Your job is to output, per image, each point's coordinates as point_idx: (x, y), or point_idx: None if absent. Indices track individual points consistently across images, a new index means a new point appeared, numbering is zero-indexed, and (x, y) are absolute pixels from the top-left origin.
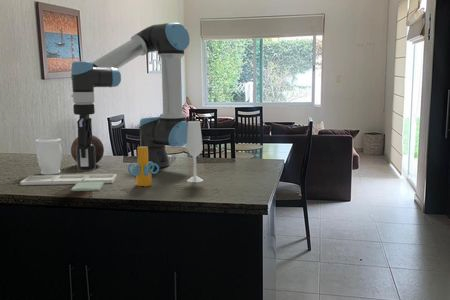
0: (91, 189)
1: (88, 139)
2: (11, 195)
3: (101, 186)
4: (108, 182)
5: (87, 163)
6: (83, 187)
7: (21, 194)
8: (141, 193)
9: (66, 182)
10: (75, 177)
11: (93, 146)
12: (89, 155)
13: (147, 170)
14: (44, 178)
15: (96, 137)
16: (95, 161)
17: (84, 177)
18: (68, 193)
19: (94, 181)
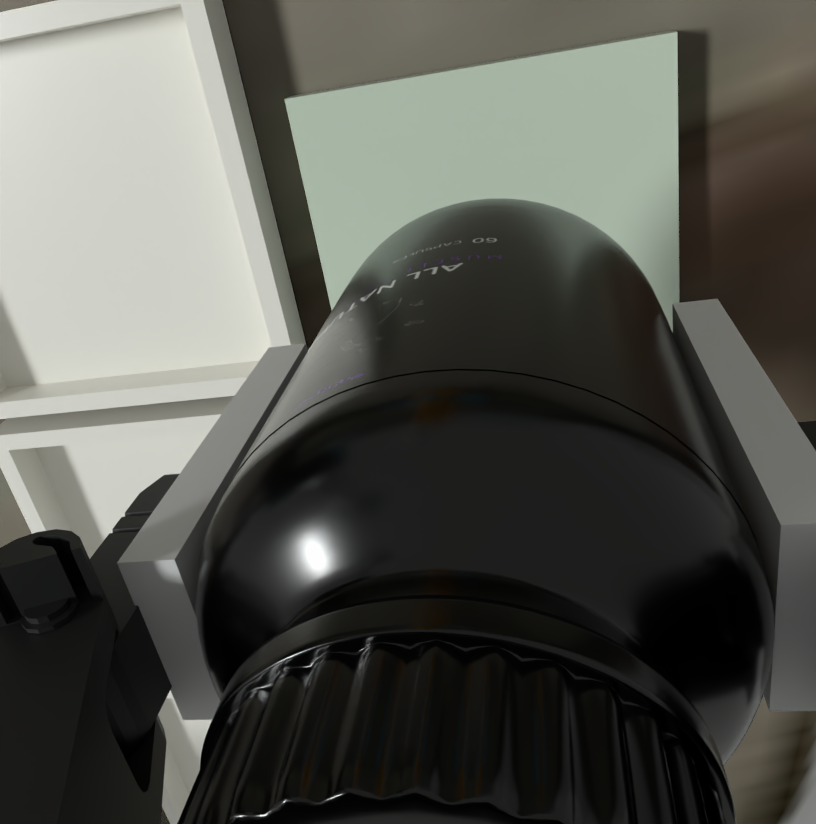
0: (675, 145)
1: (666, 808)
2: (790, 803)
3: (463, 66)
4: (226, 38)
5: (735, 330)
6: None
7: (764, 753)
8: None
9: None
10: (69, 530)
11: (508, 429)
12: (683, 380)
13: None
14: (172, 752)
15: None
16: (467, 232)
17: (141, 420)
18: (795, 381)
19: (273, 243)
